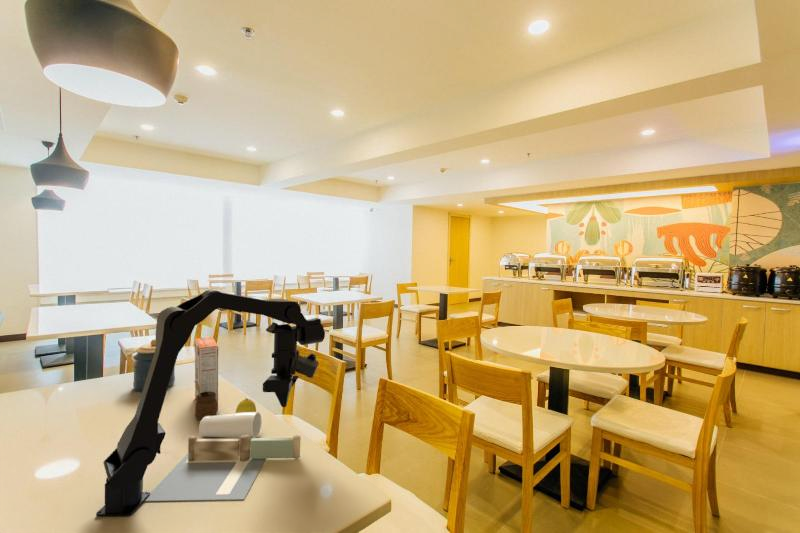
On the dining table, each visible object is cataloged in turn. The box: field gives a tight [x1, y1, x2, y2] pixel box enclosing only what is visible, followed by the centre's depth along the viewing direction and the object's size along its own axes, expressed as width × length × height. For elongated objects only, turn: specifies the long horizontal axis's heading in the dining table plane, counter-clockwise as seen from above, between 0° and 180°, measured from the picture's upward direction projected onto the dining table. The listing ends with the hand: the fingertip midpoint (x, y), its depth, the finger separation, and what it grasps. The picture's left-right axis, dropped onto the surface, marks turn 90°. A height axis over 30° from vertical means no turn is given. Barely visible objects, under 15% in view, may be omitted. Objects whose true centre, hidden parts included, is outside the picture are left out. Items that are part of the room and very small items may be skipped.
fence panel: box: [250, 435, 301, 460], centre depth 91 cm, size 12×2×5 cm, turn 94°
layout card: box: [143, 453, 267, 503], centre depth 85 cm, size 19×20×1 cm
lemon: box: [235, 398, 257, 413], centre depth 108 cm, size 6×6×8 cm
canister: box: [132, 338, 176, 393], centre depth 137 cm, size 13×13×18 cm
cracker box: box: [194, 336, 219, 410], centre depth 123 cm, size 14×6×21 cm, turn 33°
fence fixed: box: [187, 434, 251, 461], centre depth 90 cm, size 15×2×6 cm, turn 94°
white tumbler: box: [198, 411, 263, 439], centre depth 102 cm, size 7×7×15 cm
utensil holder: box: [194, 380, 218, 421], centre depth 113 cm, size 6×6×12 cm
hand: (284, 406), depth 97 cm, fingers closed
